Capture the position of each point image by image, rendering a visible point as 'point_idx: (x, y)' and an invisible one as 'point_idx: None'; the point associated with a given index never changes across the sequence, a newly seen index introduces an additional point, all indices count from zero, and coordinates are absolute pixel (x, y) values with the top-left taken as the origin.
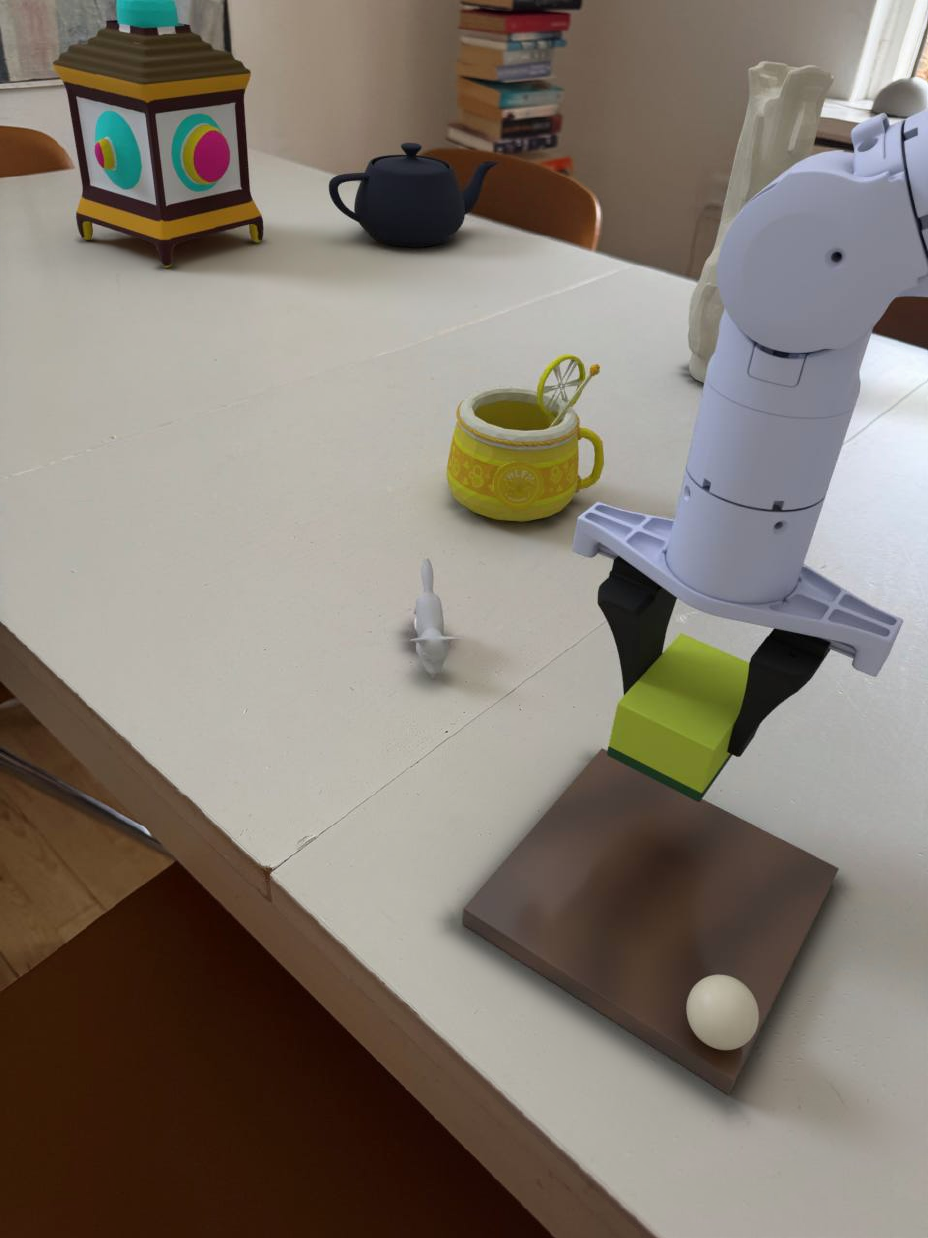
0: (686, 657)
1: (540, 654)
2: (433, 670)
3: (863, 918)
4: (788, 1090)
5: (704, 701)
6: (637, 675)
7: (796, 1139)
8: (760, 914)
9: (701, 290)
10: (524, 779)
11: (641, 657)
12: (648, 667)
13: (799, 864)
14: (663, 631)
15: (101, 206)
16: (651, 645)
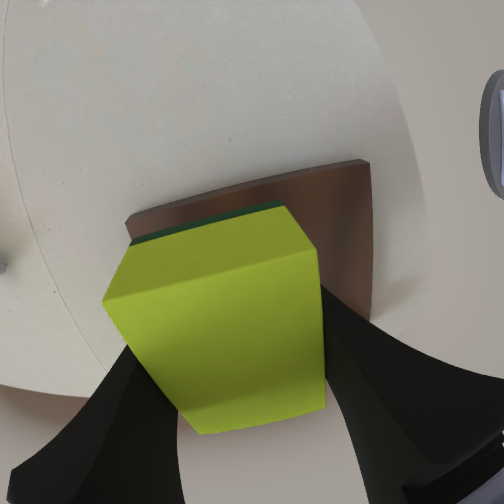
0: (170, 346)
1: (4, 165)
2: (3, 272)
3: (387, 172)
4: (384, 302)
5: (270, 384)
6: (176, 418)
7: (392, 314)
8: (342, 252)
9: None
10: None
11: (171, 440)
12: (161, 392)
13: (344, 185)
14: (131, 408)
15: None
16: (154, 427)
